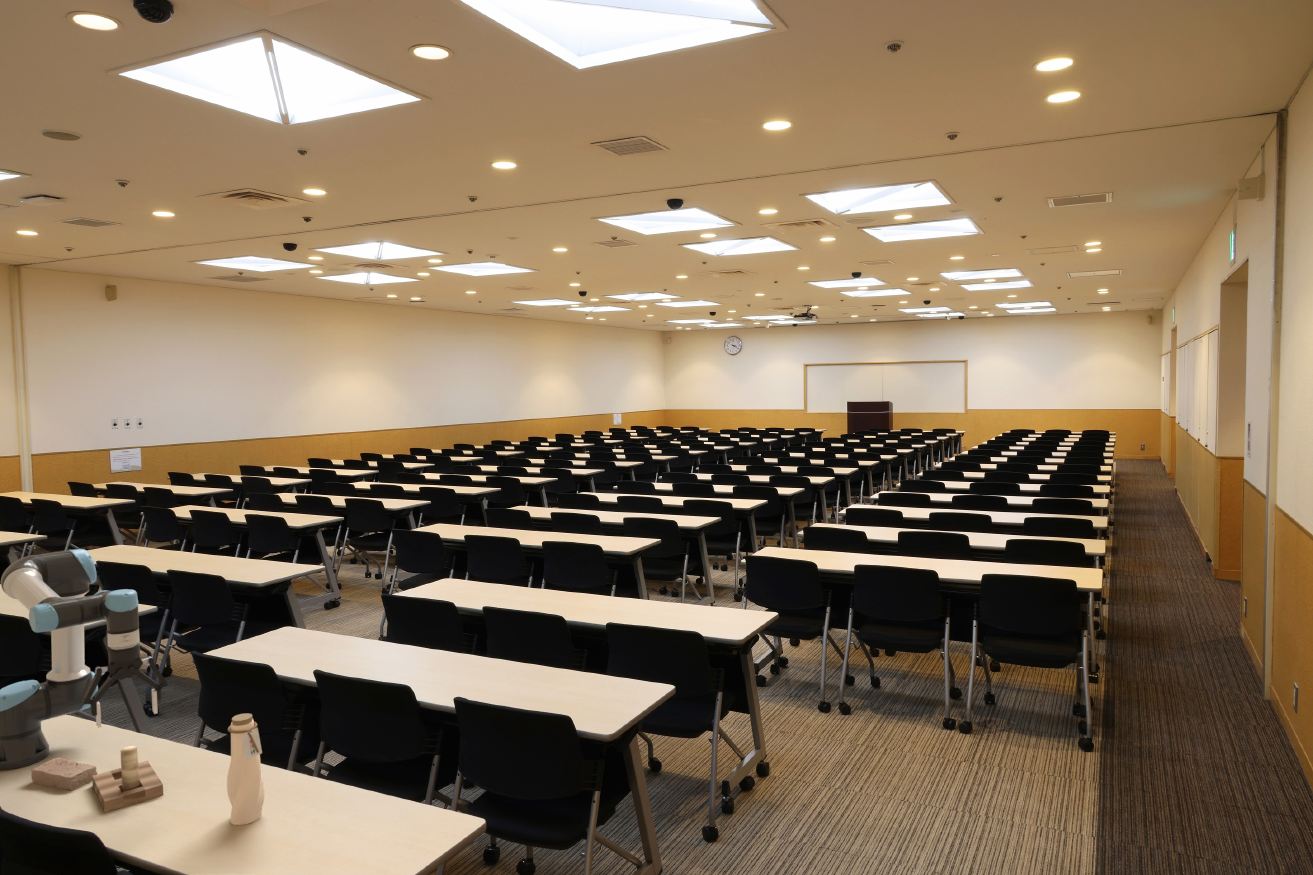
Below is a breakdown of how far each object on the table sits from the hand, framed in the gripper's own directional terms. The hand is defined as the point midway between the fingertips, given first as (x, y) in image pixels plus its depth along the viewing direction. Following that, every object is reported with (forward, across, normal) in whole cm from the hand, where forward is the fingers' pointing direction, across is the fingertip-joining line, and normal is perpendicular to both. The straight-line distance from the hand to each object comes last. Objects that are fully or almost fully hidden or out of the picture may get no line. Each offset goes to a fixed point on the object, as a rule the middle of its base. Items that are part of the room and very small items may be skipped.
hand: (127, 718), depth 232 cm
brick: (+23, -12, +25) cm, 36 cm away
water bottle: (+23, +21, -35) cm, 47 cm away
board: (+23, 0, +5) cm, 23 cm away
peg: (+23, 0, 0) cm, 23 cm away
